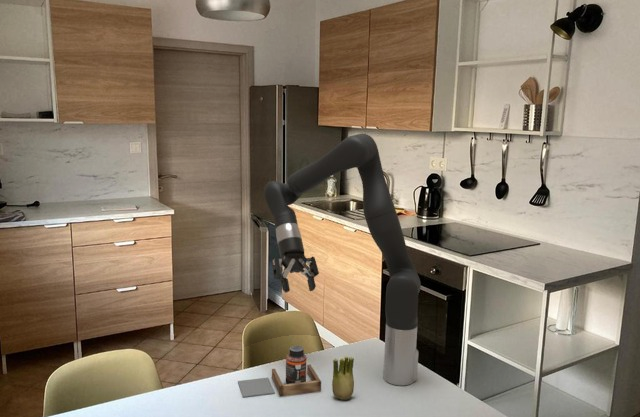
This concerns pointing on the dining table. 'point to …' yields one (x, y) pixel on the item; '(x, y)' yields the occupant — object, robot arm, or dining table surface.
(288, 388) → the walnut stall
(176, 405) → the dining table surface
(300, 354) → the supplement bottle
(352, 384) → the fennel bulb
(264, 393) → the slate mat
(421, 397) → the dining table surface
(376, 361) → the dining table surface
